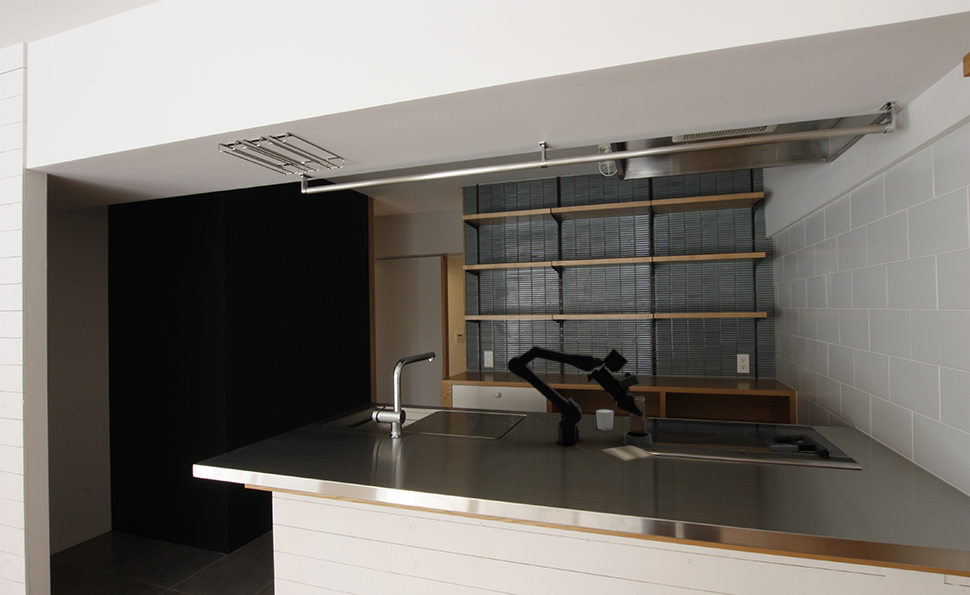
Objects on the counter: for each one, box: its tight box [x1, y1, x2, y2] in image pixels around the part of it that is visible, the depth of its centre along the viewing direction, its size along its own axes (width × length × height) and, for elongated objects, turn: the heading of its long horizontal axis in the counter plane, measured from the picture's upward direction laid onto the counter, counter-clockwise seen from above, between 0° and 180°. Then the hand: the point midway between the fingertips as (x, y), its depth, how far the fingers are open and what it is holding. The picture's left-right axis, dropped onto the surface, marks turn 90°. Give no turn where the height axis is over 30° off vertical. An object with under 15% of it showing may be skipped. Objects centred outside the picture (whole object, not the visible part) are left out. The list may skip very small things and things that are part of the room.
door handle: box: [769, 433, 832, 457], centre depth 173 cm, size 3×20×16 cm
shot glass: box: [595, 408, 615, 431], centre depth 206 cm, size 7×7×7 cm
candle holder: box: [622, 430, 654, 448], centre depth 181 cm, size 10×10×4 cm
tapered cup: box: [629, 395, 646, 433], centre depth 181 cm, size 5×5×12 cm
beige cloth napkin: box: [600, 445, 656, 462], centre depth 168 cm, size 12×12×2 cm
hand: (641, 414), depth 181 cm, fingers closed on tapered cup, 5 cm apart
